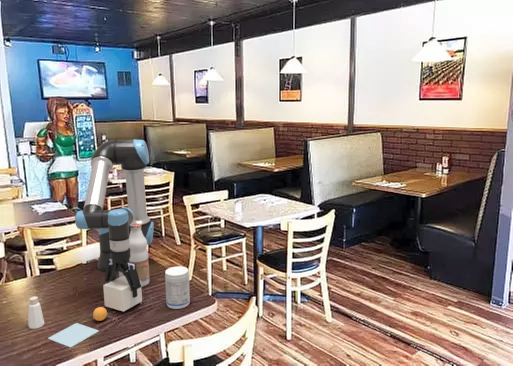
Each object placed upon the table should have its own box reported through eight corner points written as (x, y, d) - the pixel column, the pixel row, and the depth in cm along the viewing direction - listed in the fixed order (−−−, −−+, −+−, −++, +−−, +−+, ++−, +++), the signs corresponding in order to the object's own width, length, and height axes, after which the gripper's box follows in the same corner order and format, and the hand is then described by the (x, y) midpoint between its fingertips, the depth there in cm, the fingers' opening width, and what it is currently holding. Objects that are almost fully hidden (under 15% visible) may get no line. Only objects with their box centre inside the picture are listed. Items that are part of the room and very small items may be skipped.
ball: (101, 315, 164) (100, 303, 163) (110, 318, 162) (109, 306, 161) (90, 321, 160) (89, 309, 159) (100, 324, 158) (99, 312, 157)
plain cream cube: (123, 295, 178) (122, 276, 176) (142, 301, 173) (140, 280, 171) (104, 305, 169) (103, 285, 167) (123, 311, 164) (122, 290, 162)
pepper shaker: (27, 330, 154) (24, 302, 152) (28, 323, 159) (25, 296, 157) (44, 327, 156) (41, 299, 154) (45, 320, 161) (42, 293, 159)
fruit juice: (124, 287, 190) (120, 226, 185) (134, 278, 199) (130, 221, 194) (144, 288, 188) (140, 227, 183) (153, 280, 197) (150, 222, 192)
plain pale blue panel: (76, 323, 159) (76, 322, 159) (99, 331, 153) (99, 330, 153) (47, 338, 148) (47, 338, 148) (70, 347, 143) (70, 347, 143)
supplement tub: (169, 299, 178) (167, 265, 175) (191, 299, 178) (190, 265, 175) (164, 310, 168) (162, 275, 166) (187, 309, 168) (186, 275, 166)
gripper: (92, 247, 169) (96, 299, 173) (134, 256, 158) (138, 311, 162) (107, 242, 175) (110, 292, 179) (148, 250, 165) (151, 303, 169)
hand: (123, 301), depth 171 cm, fingers closed on plain cream cube, 10 cm apart
